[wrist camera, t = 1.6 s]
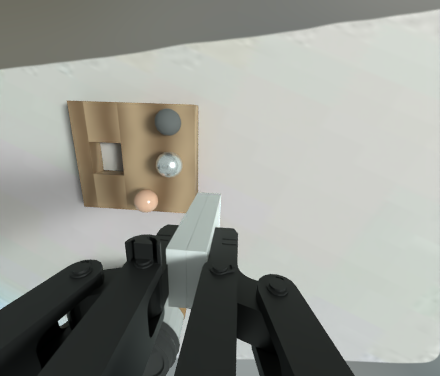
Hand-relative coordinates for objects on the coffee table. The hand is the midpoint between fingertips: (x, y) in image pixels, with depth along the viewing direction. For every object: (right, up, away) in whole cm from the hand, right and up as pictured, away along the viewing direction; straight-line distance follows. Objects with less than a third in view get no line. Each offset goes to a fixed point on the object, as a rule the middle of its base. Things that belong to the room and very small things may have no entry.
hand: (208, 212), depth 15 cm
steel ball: (-6, +5, +14) cm, 16 cm away
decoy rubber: (-6, +10, +12) cm, 17 cm away
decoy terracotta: (-9, 0, +16) cm, 19 cm away
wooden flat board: (-11, +6, +18) cm, 22 cm away
